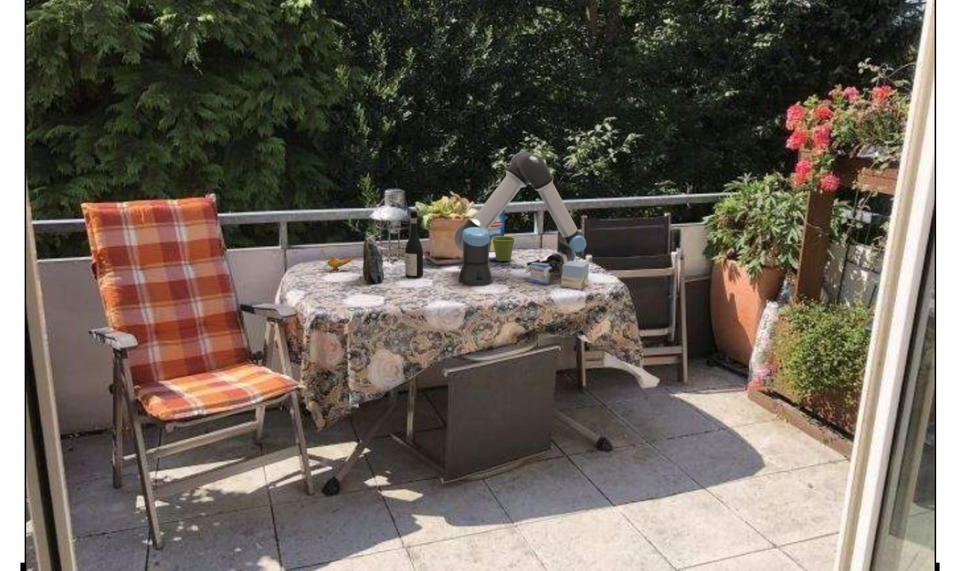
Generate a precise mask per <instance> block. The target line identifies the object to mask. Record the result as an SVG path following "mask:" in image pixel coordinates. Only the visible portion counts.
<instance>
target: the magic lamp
mask: <svg viewBox="0 0 960 571" xmlns="http://www.w3.org/2000/svg"><path fill="white" fill-rule="evenodd" d="M321 254H323V257H324V258H325V259H323V258H321ZM318 257H319V259H320V260H322V261H324V262H325V263H326V264H327V266H329V267H331V269H330V270H331V271H339V270H341V269H340V267H343V266H345V265H346V264H349V263H350V262H351V261H353V260H354V259H356V258H358V257H359V256H358V255H357V256H351V257H350V258H347V259H342V260H341V259H337V258H336V257H335V255H332V256H331V257H330V258H327V257H326V254H325V252H324V248H322V247H321V248H320V254H319V256H318ZM326 260H327V261H326ZM331 271H330V272H331ZM339 272H340V271H339Z"/></svg>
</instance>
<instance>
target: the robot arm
mask: <svg viewBox="0 0 960 571" xmlns="http://www.w3.org/2000/svg"><path fill="white" fill-rule="evenodd" d="M509 164H510V165H509V166H508V168H507V169H506V171H505V177H504V178H503V180H502V181H501V183H500V182H499V185H498V186H497V187H496V188H495V190H494V191H493V192H492V193H491V195H490V196H489V197H488V199H487V200H486V201H485V203H483V205H482V206H481V208H479V210H478V212H477V213H476V214H475V216H474V217H469V218H468V219H467V220H466V222H464V224H462V225H460V226H458V227H457V229H456V230H455V232H454V237H453V238H454V243H455V245H456V246H457V248H458V249H459V250H460V251H462V265H461V268H460V272H459V275H458V283H460V284H462V285H465V286H474V287H475V286H485V285H489V284H492V283H493V275H492V270H491V267H490V265H489V264H490V262H489V261H490V252H489V240H490V238H489V228H490V227H491V225H492V224H493V223H494V222H495V220H496V219H497V218H498V216H499V215H500V214H501V213H502V211H503V210H504V209H505V210H506V208H507V207H508V205H509V204H510V202H511V201H513V199H514V197H515V196H516V195H517V193H518V192H519V191H520V190H521V188H526V187H528V185H529V183H530V185H531V186H532V188H533V190H534V191H537V192H538V194H539V196H540V198H541V200H542V201H543V202H542V203H544V205H545V207H546V209H547V212H549V214H550V216H551V218H552V220H553V222H554V223H555V225H556V227H557V242H556V243H557V247H556V252H555V253H552V254H550V255H549V256H547V258H546V259H545V260H540V259H536V260H533V261H530V262H527V263H526V264H527V266H525V274H528V273H530V270H531V263H533V262H537V263H546V264H550V267H549V268H547V269H544V276H546V275H548V274H550V275H551V274H554V273H557V274H559V273H561V271H562V270H563V264H565V263H566V262H568V261H576V257H577V256H576V255H577V254H576V253H581V252H582V251H584V250H585V249H586V247H587V241H586V239H585V237H584V236H583V235H581V233H580V231H579V230H578V228H577V226H576V223H575V222H574V220H573V218H572V216H571V215H570V211H568V208H567V207H566V205H565V203H564V202H563V199H562V197H561V195H560V194H559V192H558V189H556V186H555V184H554V182H553V181H554V178H553V175H552V174H551V172H550V170H549V168H548V166H547V163H546V162H545V160H544V159H543V158H542V157H541V156H539V155H537V154H535V153H531V152H530V151H529V152H528V151H521V152H518V153H516V154H515V155H514V156H513V157H512V158H511V160H510V163H509Z"/></svg>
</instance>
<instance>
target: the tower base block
mask: <svg viewBox="0 0 960 571" xmlns="http://www.w3.org/2000/svg"><path fill="white" fill-rule="evenodd" d="M560 279H561V284H560V286H561V287H566V288H572V289H579V290H580V289H583V288H584V287H586V286H588V285H589V273H588V274H587V275H586V276H585V277H583V278H575V277H567V276H562V275H561V278H560Z"/></svg>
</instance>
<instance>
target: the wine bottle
mask: <svg viewBox="0 0 960 571" xmlns="http://www.w3.org/2000/svg"><path fill="white" fill-rule="evenodd" d="M409 215H410V234H409V237H408V241H407V242H406V246H405V250H404V264H405V265H404V268H405V269H404V273H405V276H406V277H407V278H408V279H409V278H410V279H419V278H422V277H423V276H424V250H423V246H422V243H421V240H420V238H419V235H418V221H417V220H418V218H417V217H418V211H417V210H411V211H410V212H409Z"/></svg>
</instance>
